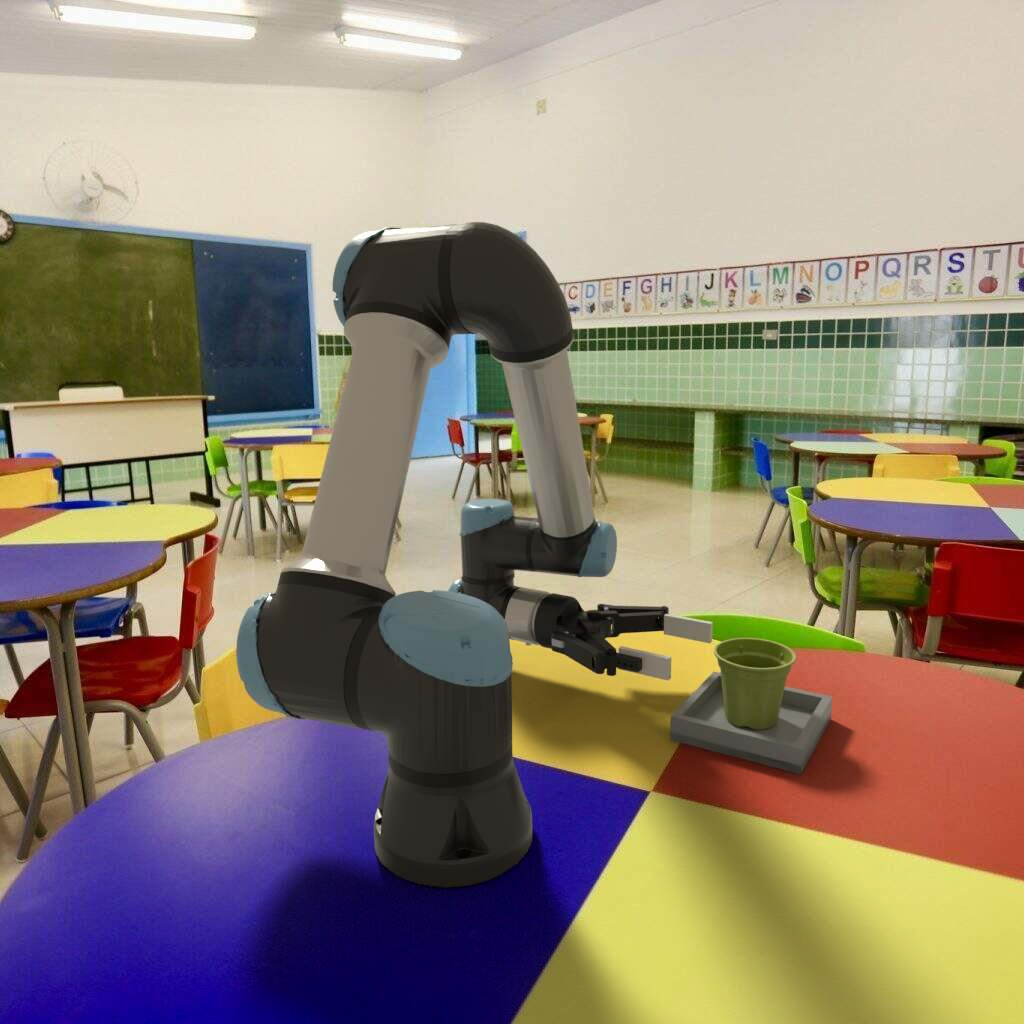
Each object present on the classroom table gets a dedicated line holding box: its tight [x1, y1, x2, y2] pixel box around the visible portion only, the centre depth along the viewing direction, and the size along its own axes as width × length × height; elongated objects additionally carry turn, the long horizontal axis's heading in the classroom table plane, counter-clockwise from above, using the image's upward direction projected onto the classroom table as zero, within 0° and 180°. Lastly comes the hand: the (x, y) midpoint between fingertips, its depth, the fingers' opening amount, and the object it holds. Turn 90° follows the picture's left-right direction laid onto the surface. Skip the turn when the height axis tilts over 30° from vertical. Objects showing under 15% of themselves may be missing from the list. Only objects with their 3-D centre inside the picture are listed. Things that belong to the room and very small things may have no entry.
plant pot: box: [713, 637, 797, 730], centre depth 97 cm, size 9×9×9 cm
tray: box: [669, 671, 833, 775], centre depth 97 cm, size 15×15×3 cm
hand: (692, 649), depth 100 cm, fingers open, 13 cm apart
